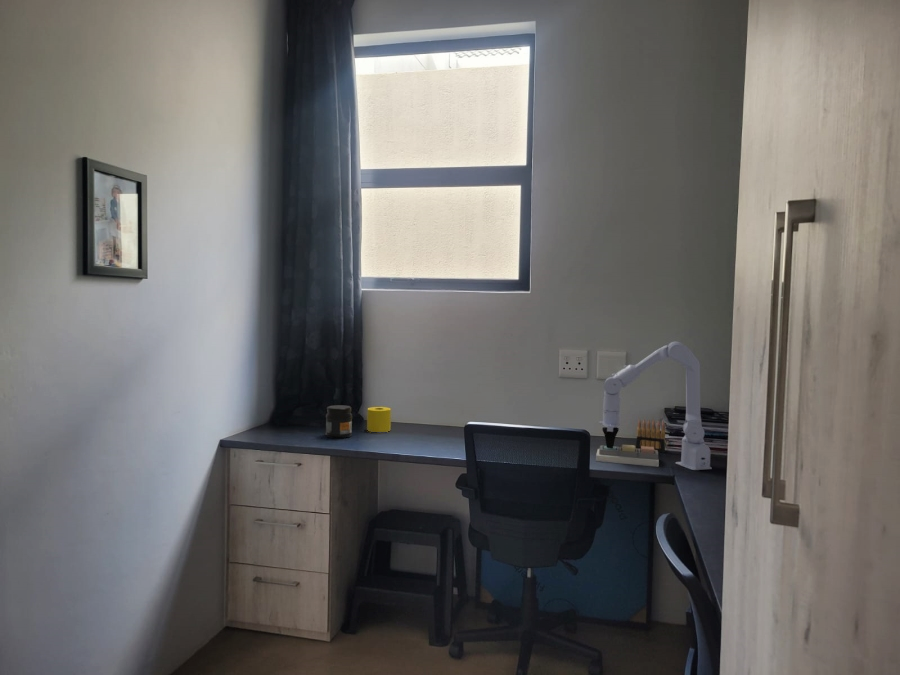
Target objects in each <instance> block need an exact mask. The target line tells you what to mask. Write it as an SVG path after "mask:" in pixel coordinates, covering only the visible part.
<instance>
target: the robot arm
mask: <svg viewBox="0 0 900 675" xmlns="http://www.w3.org/2000/svg"><path fill="white" fill-rule="evenodd" d="M668 357H669V358H670V360H672V361H675V362H676V363H679V364H680V365H681V366H682V367H683V368H684V369H685V421H684V423H683V425H682V431H683V433H684V436H683V437H682V438H681V453H680V454H681V457H680V461H676V462H675V465H678V466H681V467H684V468H686V469H688V470H692V471H700V470H702V471H703V470H704V471H705V470H712V467H711V449H710V447H709V446H708V445H706V444H705V440H704V437H705V429H704V428H703V426H702V417H701V415H702V414H701V364H700V362H699V361H700V360H698V359H697V357H696V356H695V355H694V354H693V352H692V351H691V349H690V348H689V347H688V346H686V345H685V344H683V343H682V342H680V341H675V340H674V341H672V342H669V343H668V344H667V345H666V344H665V345H664V346H662V347H660V348H658V349H656V350H655V351H653V352H652V353H650V354H649V355H647V356H646V357H645V358H643V359H642V360H640V361H638V362H637V363H636V364H628V365H626V364H625V365H623V367H622V369H620V370H619V371H617V372H616V373H612V374H611V376H609V377H607V378H606V379H605V381H604V383H603V389H604V392H603V396H604V397H603V403H602V404H603V408H602V421H601V420H599V422H598V423H599V425H603V426H604V427H602V432H603V435H604V438H605V446H607V448H613V447H615V446H614V444H615V440H616V436H617V434H618V433H619V430H620V429H619V426H620V404H621V398H620V391H621V389H622V388H626V387H627V386H628V385H630V384H632V383H633V382H635V381H636V380H638V379H639V378H640V374H641V373H642V372H643V371H645V370H646V369H648V368H650V367H652V366H653V365H655V364H656V363H658V362H661V361H662V362H663V361H669V358H668Z"/></svg>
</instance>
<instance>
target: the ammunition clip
mask: <svg viewBox="0 0 900 675" xmlns="http://www.w3.org/2000/svg"><path fill="white" fill-rule="evenodd" d="M646 424H647V425H646ZM665 427H666V423H665V421H664V420H663V421H662V423H661V424H660V420H658V421H657V423H656V421H655V420H654V419H653V420H652V424H651V420H650V419H648V420H647V423H646V419H644V418H643V420H642V421H641V418H638V422H637V428H636V443H635V448H637V449H641V446H646V447H654V450H658V453H665V452H666V428H665Z"/></svg>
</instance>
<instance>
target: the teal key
mask: <svg viewBox="0 0 900 675" xmlns="http://www.w3.org/2000/svg"><path fill="white" fill-rule="evenodd" d="M603 446H604V448H603V449H606V450H616V447H617V446H613V448H607V446H606V445H603Z"/></svg>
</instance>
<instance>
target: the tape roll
mask: <svg viewBox="0 0 900 675" xmlns="http://www.w3.org/2000/svg"><path fill="white" fill-rule="evenodd" d="M366 416H367V417H366V418H367V419H366V431H367V430H368V431H371V432H387V433H389V432H388V431H390V430H391V426H392V422H391V420H392V408H390V407H387V406H373V407H371V406H370V407H368V408H367V414H366ZM368 431H367V432H368ZM371 432H370V433H371ZM390 432H391V431H390Z"/></svg>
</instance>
